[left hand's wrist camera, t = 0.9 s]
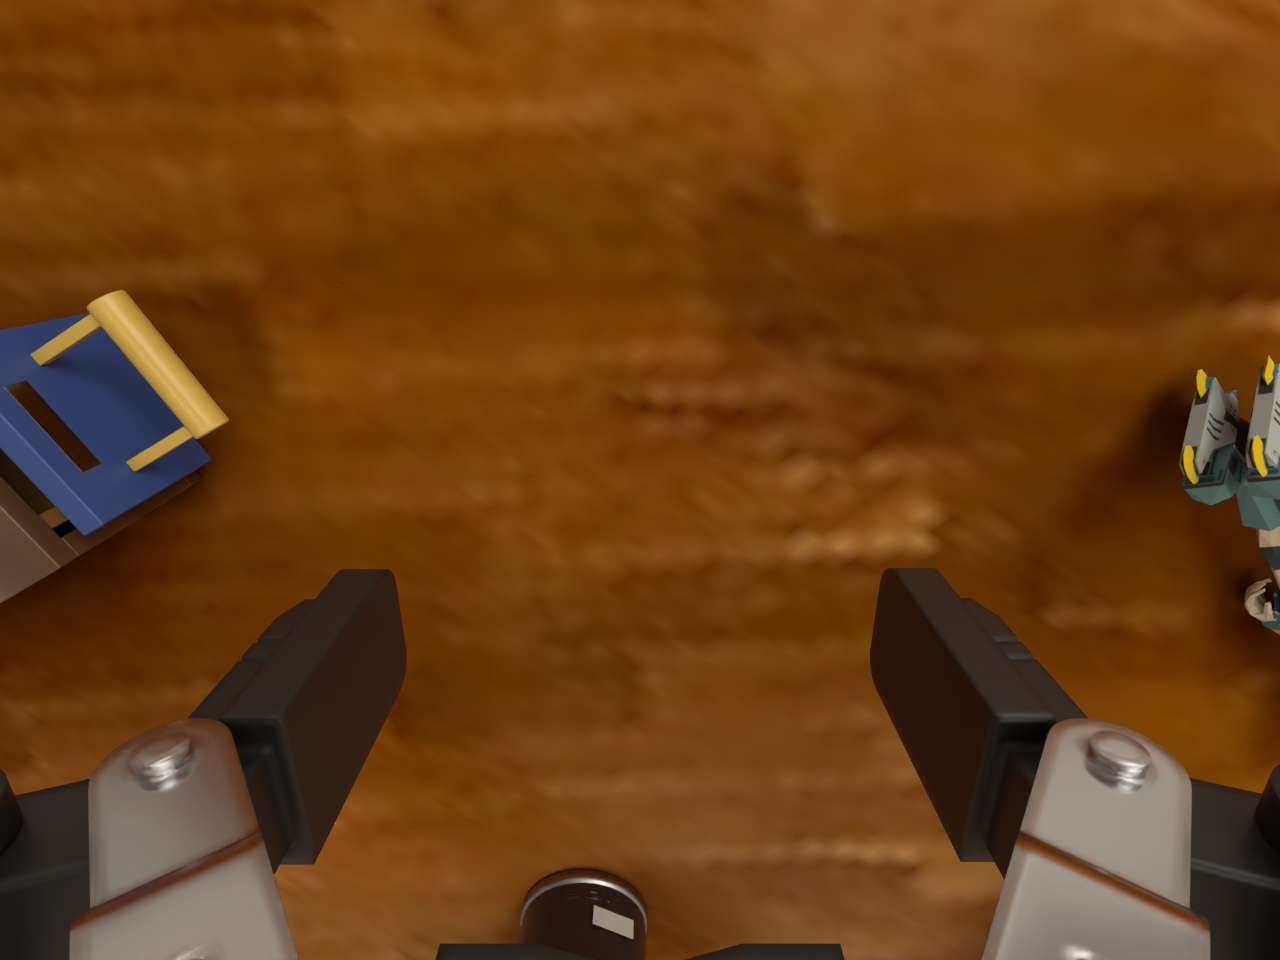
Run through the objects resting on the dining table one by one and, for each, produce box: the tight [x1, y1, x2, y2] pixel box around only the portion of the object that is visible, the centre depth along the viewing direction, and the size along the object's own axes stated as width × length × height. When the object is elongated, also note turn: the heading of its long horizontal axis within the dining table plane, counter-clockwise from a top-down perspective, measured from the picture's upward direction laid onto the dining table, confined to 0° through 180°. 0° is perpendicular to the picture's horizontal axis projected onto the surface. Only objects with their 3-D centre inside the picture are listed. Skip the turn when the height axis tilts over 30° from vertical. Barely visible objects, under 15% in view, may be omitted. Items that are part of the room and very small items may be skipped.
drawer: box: [0, 290, 229, 536], centre depth 33 cm, size 23×9×8 cm, turn 119°
